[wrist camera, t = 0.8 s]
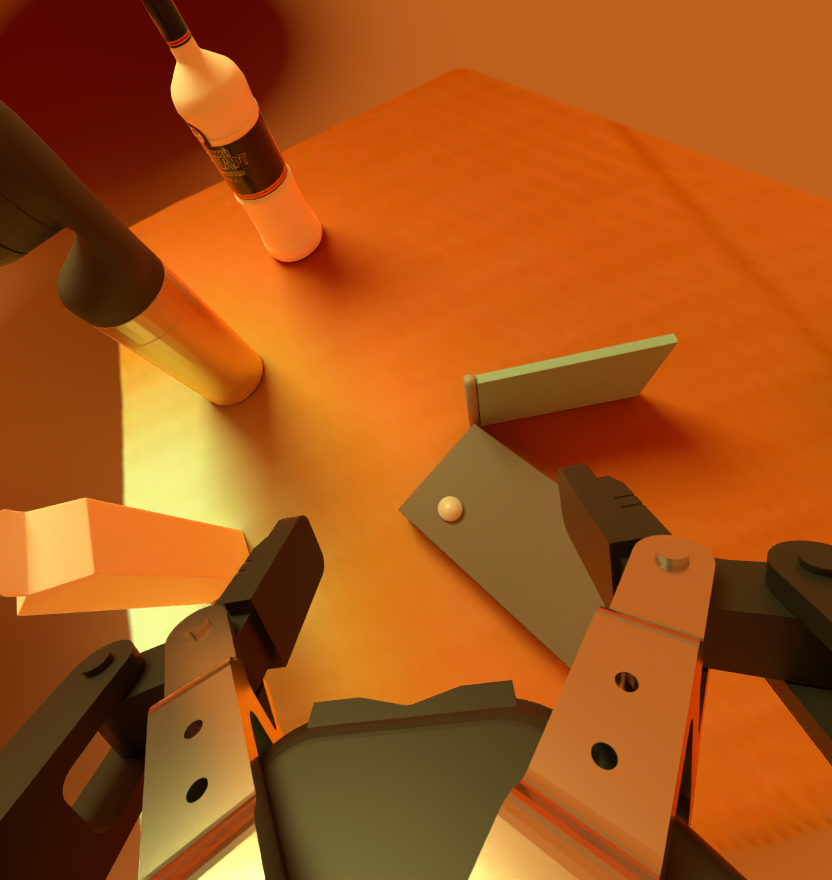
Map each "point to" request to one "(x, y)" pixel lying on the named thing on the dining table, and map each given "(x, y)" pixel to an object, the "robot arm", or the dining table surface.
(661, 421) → the dining table surface
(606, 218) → the dining table surface
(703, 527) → the dining table surface
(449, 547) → the box with round knob
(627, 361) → the door
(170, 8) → the vodka
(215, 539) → the milk
